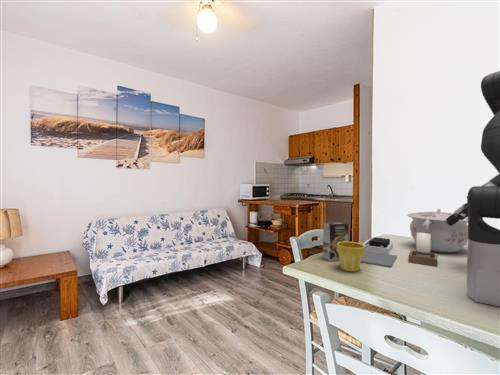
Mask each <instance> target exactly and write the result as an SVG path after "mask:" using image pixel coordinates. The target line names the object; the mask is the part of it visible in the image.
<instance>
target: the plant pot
mask: <svg viewBox="0 0 500 375" xmlns="http://www.w3.org/2000/svg"><path fill="white" fill-rule="evenodd" d="M337 252H338V254H339V259H340V261H339V263H340V269H341V270H343V271H347V272H354V273H355V272H359V270H360V266H361V259H362V256H363V255H364V252H365V246H364V245H363V243H359V242H354V241H348V242H338V243H337Z"/></svg>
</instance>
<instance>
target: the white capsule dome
mask: <svg viewBox="0 0 500 375" xmlns="http://www.w3.org/2000/svg"><path fill="white" fill-rule="evenodd" d="M430 240H431V234H428V233H417V244H416V243H415V244H416V245H415V246H416V249H415V251H416V256H421V257H428V258H430V255H431V253H432V251H430Z"/></svg>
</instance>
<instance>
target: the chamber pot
mask: <svg viewBox="0 0 500 375" xmlns="http://www.w3.org/2000/svg"><path fill="white" fill-rule="evenodd" d="M452 214H453V213H451V212H442V211H441V208H437V209H436V211H422V212H421V211H419V212H417V211H416V212H412V213H408V214H407V215H406V216H407V217H408V218H411V219H412V221H411V222H410V223H409V224H410V225H409V231H410V234H411V237H412V239H413V240H414V242H415V244H417V233H428V234H431V240H430V252H433V253H434V252H435V253H442V254H445V253H447V254H452V253H457V252H460V251H461V250H462V249H463V248H464V247H465V245H467V244H468V217H466V218H464V219H463V220H459V221H458V222H456V223H455V224H454V225H452V226H449V225H448V224H447V220H446V219H447V218H448V217H449V216H451V215H452Z"/></svg>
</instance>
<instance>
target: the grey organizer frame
mask: <svg viewBox="0 0 500 375" xmlns="http://www.w3.org/2000/svg"><path fill="white" fill-rule="evenodd" d="M370 240H371V239H370V238H368V239H367V240H366V241H365V242H363V243H362V244H363V245H364V246H365V251H369V252H376V253H382V254H389V255H390V252H391V251H392V249H393V248H394V242H392V241H390V244H389V245H388V246H387V248H382V247H383V246H380V247H375V246H369V241H370Z"/></svg>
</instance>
